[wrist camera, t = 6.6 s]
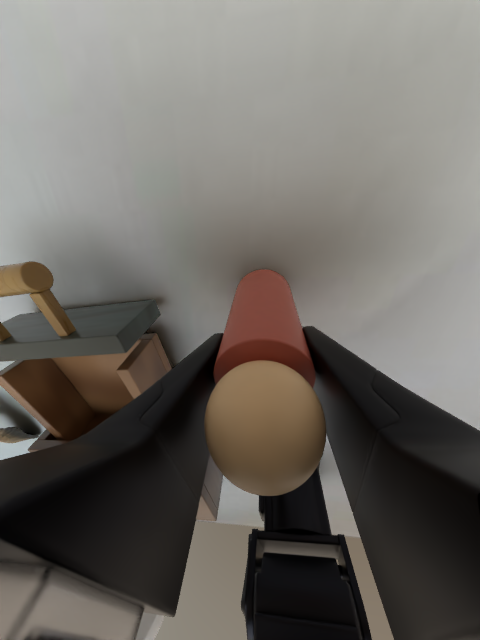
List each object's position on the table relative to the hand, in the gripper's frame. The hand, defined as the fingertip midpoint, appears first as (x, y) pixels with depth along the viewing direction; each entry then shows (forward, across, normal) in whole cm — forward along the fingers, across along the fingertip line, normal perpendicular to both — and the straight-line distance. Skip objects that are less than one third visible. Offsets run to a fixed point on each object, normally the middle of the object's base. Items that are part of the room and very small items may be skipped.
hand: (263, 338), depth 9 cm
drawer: (+5, +13, +3) cm, 14 cm away
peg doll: (+4, 0, 0) cm, 4 cm away
